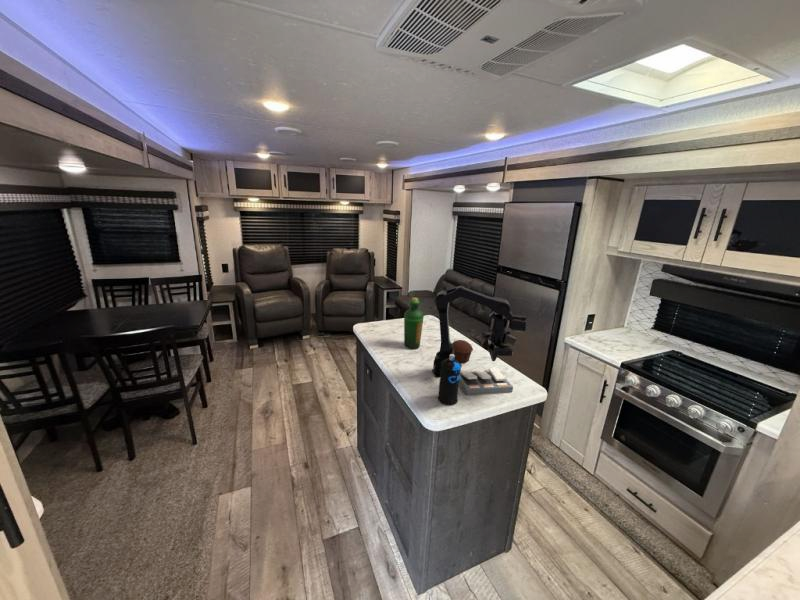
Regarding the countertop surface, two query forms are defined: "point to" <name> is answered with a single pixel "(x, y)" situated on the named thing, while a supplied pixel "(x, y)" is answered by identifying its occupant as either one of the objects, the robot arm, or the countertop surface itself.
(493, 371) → the rocker
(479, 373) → the rocker
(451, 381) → the aerosol can
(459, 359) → the muffin
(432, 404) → the countertop surface
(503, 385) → the switch unit
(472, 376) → the rocker
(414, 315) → the bottle
